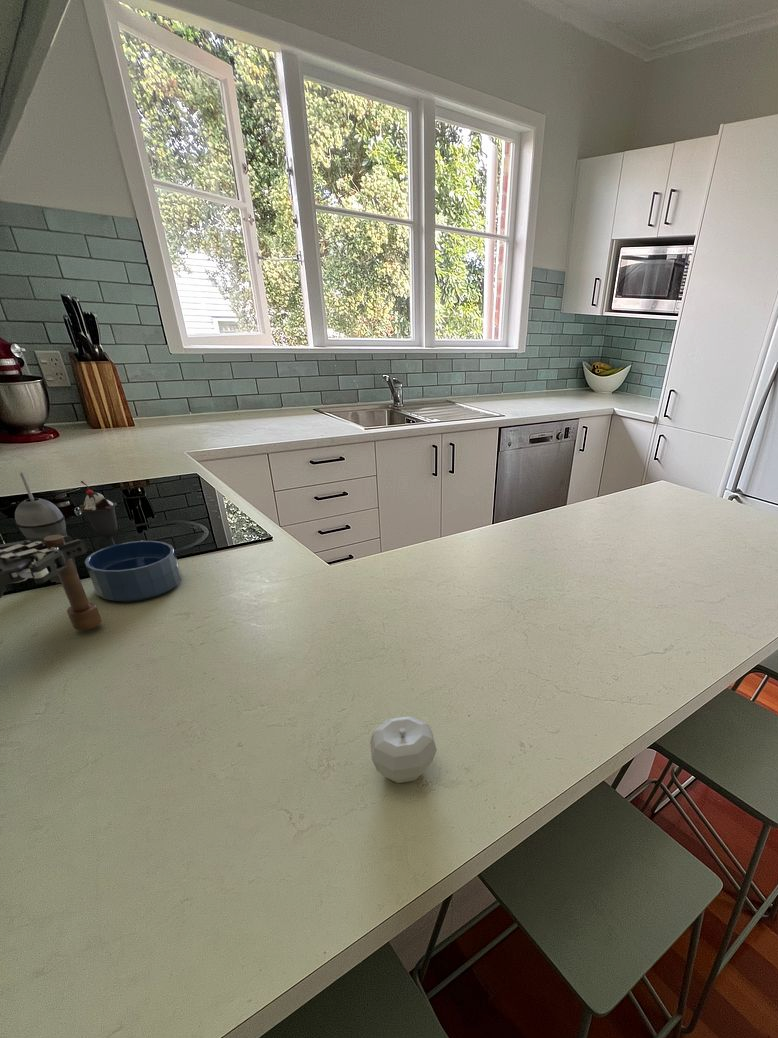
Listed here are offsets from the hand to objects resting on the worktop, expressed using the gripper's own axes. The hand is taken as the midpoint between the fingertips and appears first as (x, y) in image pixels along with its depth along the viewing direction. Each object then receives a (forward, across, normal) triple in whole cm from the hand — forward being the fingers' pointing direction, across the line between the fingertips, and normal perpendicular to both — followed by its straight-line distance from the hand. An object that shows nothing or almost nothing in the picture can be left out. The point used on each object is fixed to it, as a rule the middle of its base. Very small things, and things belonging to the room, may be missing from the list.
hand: (77, 543), depth 84 cm
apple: (-6, -63, +14) cm, 65 cm away
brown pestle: (-3, 0, +13) cm, 13 cm away
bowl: (+11, +7, +14) cm, 19 cm away
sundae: (+20, +27, +15) cm, 36 cm away
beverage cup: (+7, +23, +14) cm, 28 cm away
